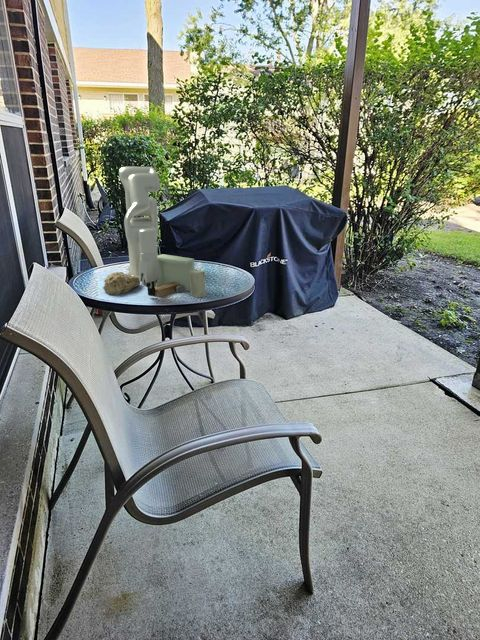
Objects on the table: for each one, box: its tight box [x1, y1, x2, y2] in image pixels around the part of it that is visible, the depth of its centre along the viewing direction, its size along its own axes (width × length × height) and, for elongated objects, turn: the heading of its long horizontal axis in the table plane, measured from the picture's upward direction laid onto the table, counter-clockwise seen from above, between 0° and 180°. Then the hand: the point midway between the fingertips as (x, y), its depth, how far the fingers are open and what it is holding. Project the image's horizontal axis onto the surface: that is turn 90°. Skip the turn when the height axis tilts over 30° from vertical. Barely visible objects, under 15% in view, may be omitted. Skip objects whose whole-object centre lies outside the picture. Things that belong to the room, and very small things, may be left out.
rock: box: [102, 271, 141, 295], centre depth 206 cm, size 21×14×10 cm
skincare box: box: [190, 269, 207, 299], centre depth 196 cm, size 6×4×12 cm
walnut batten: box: [154, 282, 180, 298], centre depth 202 cm, size 4×15×4 cm, turn 148°
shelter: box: [155, 253, 195, 294], centre depth 204 cm, size 20×7×16 cm, turn 58°
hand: (151, 295), depth 194 cm, fingers closed
